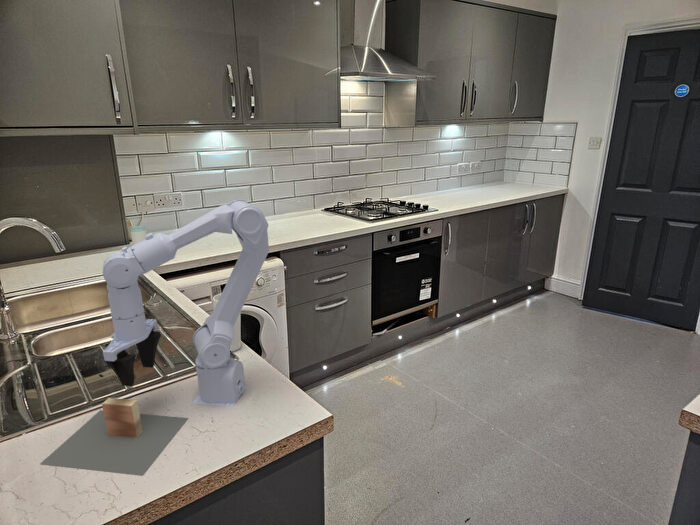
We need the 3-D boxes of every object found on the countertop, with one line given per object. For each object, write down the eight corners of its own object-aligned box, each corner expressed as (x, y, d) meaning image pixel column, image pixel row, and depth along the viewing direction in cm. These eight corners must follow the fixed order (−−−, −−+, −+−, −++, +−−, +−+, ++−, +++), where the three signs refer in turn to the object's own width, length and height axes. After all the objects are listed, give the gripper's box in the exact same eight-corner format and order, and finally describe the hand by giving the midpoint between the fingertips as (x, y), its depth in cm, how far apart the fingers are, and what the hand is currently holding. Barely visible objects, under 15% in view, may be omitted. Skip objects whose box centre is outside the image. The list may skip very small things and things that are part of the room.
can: (152, 249, 223) (149, 225, 219) (142, 253, 216) (138, 228, 213) (140, 248, 225) (137, 224, 221) (130, 252, 218) (126, 227, 215)
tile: (142, 431, 89) (137, 400, 87) (136, 437, 87) (130, 406, 85) (114, 428, 90) (108, 397, 88) (108, 435, 88) (101, 403, 86)
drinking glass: (246, 342, 126) (242, 291, 122) (240, 354, 120) (235, 301, 115) (222, 342, 126) (217, 291, 122) (214, 354, 120) (208, 301, 115)
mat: (189, 420, 93) (188, 418, 93) (143, 478, 78) (142, 475, 78) (100, 412, 96) (100, 410, 96) (40, 466, 81) (39, 464, 81)
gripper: (131, 299, 96) (141, 356, 100) (83, 328, 82) (96, 394, 86) (162, 300, 95) (171, 358, 99) (118, 330, 81) (130, 396, 85)
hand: (138, 375), depth 92 cm, fingers open, 6 cm apart
